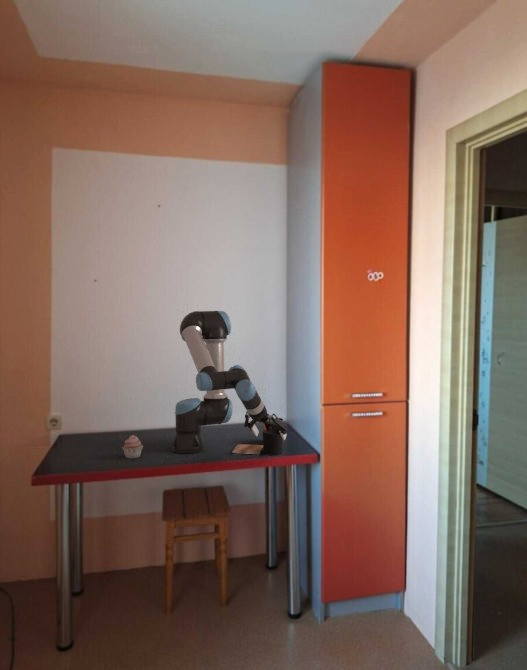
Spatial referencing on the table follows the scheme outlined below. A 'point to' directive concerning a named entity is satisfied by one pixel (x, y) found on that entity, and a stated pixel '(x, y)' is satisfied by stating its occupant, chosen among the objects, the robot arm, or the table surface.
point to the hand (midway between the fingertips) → (271, 435)
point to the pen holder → (272, 442)
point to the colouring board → (248, 449)
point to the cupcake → (132, 447)
